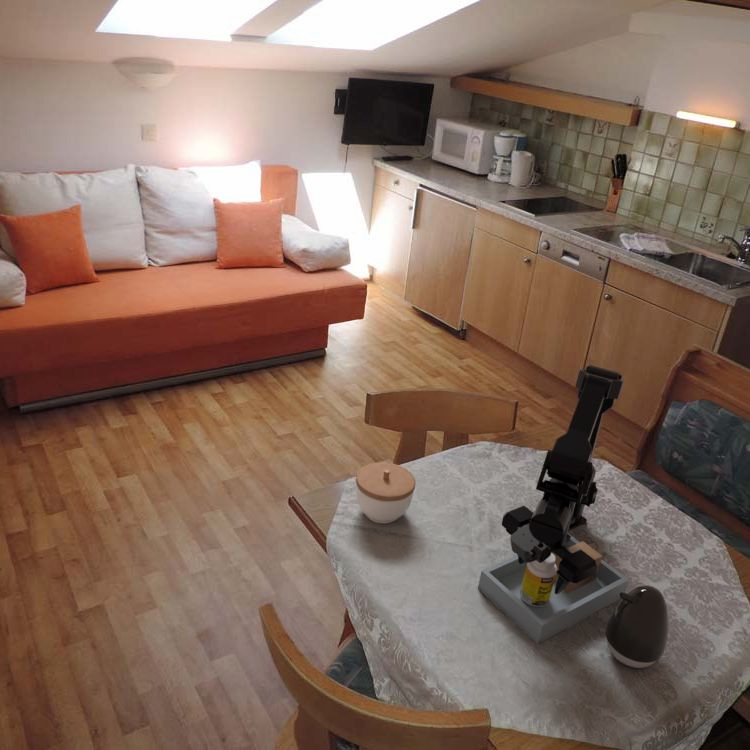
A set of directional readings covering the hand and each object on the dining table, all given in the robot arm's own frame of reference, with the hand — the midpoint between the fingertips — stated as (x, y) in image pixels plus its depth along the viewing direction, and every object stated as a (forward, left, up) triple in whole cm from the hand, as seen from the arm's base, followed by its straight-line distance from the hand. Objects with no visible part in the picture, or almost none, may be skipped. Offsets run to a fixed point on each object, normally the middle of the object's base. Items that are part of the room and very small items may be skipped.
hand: (539, 577), depth 141 cm
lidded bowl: (+10, -36, -6) cm, 38 cm away
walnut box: (-11, 0, -5) cm, 12 cm away
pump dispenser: (-6, +18, -6) cm, 20 cm away
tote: (-5, 0, -6) cm, 8 cm away
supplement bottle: (0, 0, -5) cm, 5 cm away
